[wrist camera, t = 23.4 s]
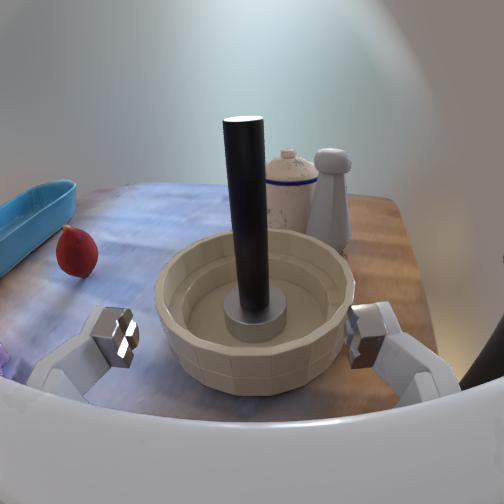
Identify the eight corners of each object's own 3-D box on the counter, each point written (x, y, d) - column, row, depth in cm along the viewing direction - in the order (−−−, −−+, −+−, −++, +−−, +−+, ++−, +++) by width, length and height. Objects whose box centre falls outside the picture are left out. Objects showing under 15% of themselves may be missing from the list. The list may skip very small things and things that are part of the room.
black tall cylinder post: (284, 299, 29) (283, 112, 20) (288, 342, 25) (291, 122, 15) (228, 300, 30) (206, 117, 20) (223, 343, 25) (190, 128, 15)
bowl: (327, 271, 34) (332, 225, 31) (359, 393, 20) (379, 347, 17) (188, 275, 35) (179, 230, 32) (154, 395, 21) (128, 350, 18)
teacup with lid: (317, 215, 47) (319, 143, 40) (322, 245, 39) (327, 159, 33) (242, 214, 48) (237, 143, 42) (233, 244, 40) (225, 159, 34)
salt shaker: (339, 266, 35) (349, 159, 28) (297, 253, 38) (298, 152, 31) (354, 244, 39) (363, 149, 32) (316, 233, 42) (319, 142, 35)
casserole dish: (-33, 322, 27) (-56, 283, 23) (-59, 289, 33) (-74, 260, 29) (103, 207, 56) (95, 175, 52) (48, 205, 62) (40, 180, 58)
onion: (99, 259, 39) (83, 209, 35) (110, 277, 35) (91, 222, 31) (65, 275, 36) (45, 226, 32) (71, 296, 32) (47, 241, 28)
